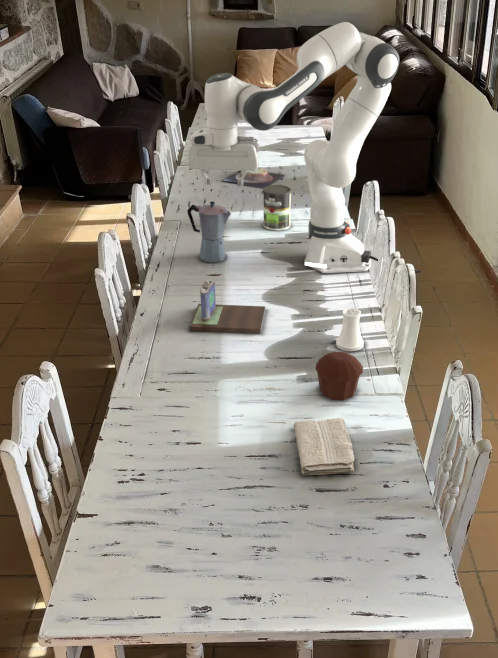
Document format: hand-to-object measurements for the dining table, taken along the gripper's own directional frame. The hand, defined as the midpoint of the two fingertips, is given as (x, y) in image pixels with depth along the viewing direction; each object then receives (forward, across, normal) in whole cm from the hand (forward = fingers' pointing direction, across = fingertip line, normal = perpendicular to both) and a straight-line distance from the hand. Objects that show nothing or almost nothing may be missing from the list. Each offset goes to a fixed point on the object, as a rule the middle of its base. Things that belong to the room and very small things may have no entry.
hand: (224, 184), depth 211 cm
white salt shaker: (+33, -38, +33) cm, 60 cm away
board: (+33, -3, +22) cm, 40 cm away
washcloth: (+33, -32, +80) cm, 92 cm away
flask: (+32, +3, +21) cm, 38 cm away
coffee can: (+33, -11, -54) cm, 64 cm away
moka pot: (+33, +9, -22) cm, 41 cm away
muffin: (+33, -35, +56) cm, 74 cm away
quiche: (+33, +4, -110) cm, 115 cm away
